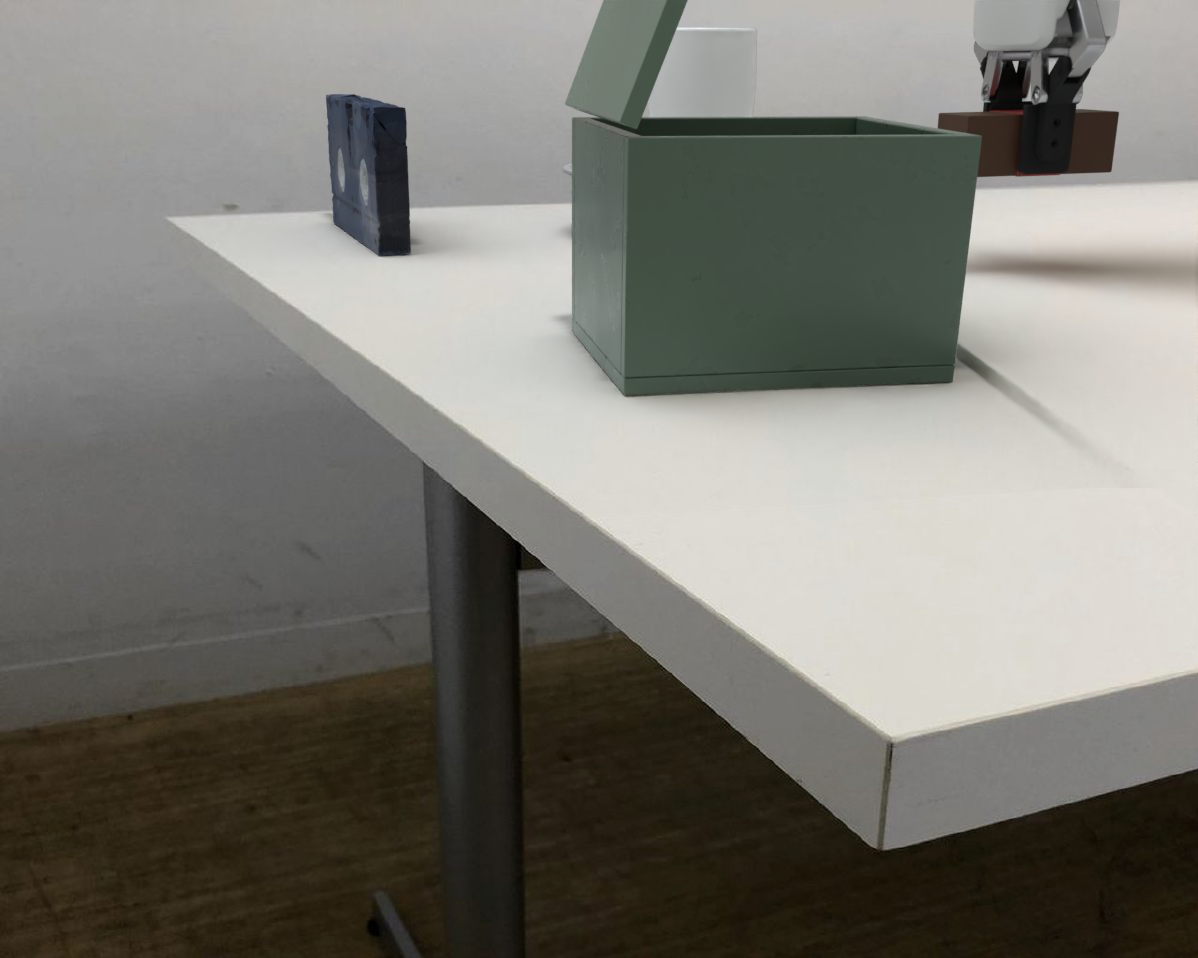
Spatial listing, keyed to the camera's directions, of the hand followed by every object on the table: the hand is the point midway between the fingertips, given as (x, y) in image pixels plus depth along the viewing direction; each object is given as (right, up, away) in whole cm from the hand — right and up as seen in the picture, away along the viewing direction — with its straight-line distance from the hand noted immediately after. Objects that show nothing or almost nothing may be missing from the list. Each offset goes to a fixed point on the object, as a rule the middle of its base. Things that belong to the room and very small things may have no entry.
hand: (1022, 166), depth 83 cm
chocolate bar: (0, 0, 0) cm, 0 cm away
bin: (-20, -15, -18) cm, 31 cm away
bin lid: (-24, +2, -26) cm, 35 cm away
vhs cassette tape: (-45, 0, +18) cm, 48 cm away
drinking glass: (-21, -6, +3) cm, 22 cm away
